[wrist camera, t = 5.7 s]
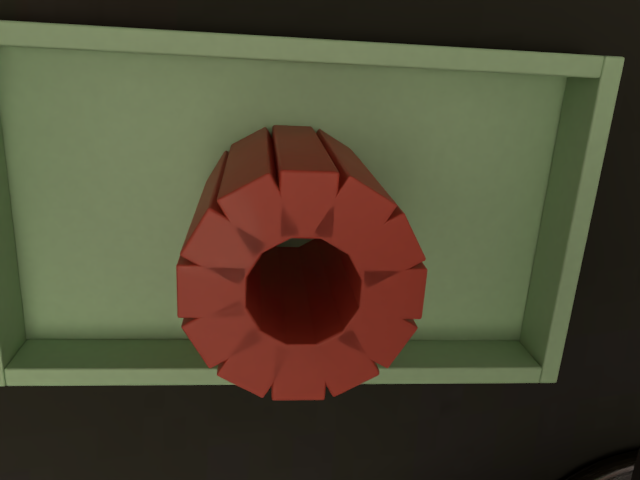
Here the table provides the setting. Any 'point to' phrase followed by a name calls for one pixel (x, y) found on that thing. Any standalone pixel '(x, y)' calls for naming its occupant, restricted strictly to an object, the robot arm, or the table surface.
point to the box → (183, 197)
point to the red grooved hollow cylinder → (298, 268)
